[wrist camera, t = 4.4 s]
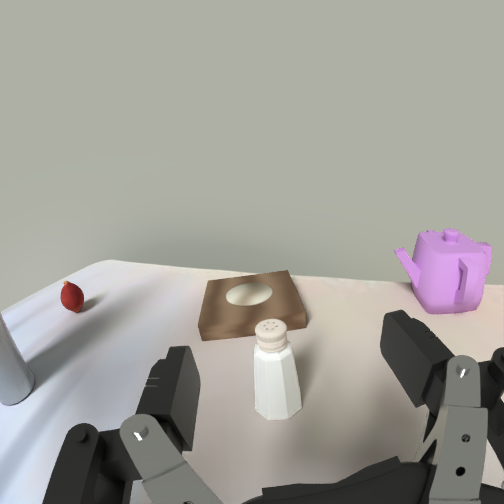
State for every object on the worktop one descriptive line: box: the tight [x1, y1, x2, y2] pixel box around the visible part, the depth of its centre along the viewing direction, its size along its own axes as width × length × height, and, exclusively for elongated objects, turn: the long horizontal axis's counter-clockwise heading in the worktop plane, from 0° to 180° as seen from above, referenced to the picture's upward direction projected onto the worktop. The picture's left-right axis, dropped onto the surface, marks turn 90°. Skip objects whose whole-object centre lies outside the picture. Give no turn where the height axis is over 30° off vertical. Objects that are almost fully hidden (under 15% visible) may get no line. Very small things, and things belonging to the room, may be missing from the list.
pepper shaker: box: [254, 319, 302, 420], centre depth 25 cm, size 5×5×11 cm
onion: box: [61, 281, 84, 313], centre depth 51 cm, size 6×6×8 cm
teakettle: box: [394, 228, 492, 314], centre depth 39 cm, size 17×17×12 cm
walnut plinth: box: [198, 270, 306, 341], centre depth 47 cm, size 16×16×3 cm
